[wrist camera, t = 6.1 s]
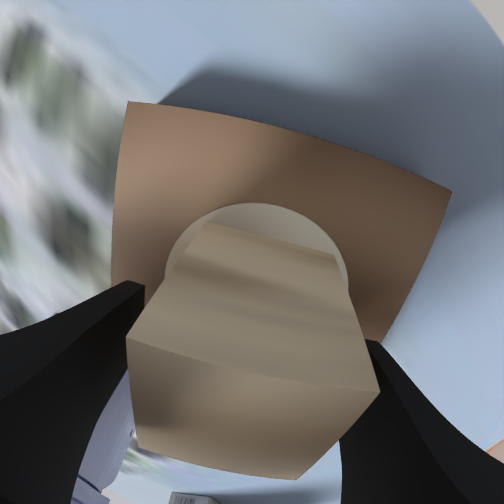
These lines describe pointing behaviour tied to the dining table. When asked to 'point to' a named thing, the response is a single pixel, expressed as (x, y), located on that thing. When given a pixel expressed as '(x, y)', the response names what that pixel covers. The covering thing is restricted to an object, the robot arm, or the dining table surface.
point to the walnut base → (269, 202)
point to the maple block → (248, 357)
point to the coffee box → (190, 499)
